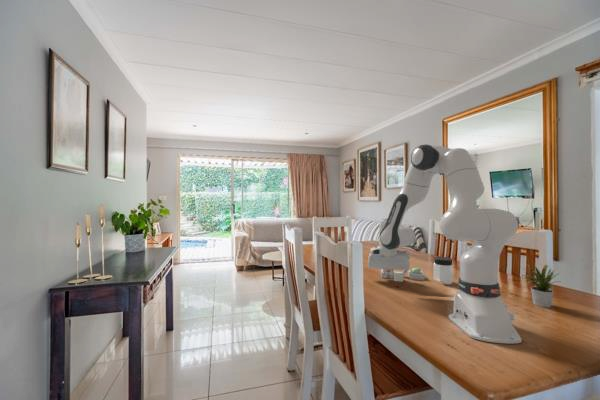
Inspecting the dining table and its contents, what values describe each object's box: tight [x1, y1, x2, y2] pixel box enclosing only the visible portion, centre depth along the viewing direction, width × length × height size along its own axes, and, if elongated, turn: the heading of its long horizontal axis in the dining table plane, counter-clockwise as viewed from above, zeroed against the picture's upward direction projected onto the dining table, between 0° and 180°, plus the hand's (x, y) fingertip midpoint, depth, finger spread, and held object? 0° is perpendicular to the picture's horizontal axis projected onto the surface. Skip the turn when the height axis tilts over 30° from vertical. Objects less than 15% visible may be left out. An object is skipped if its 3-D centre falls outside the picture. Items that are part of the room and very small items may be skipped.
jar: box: [433, 256, 454, 286], centre depth 142 cm, size 9×8×12 cm
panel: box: [380, 269, 426, 281], centre depth 145 cm, size 14×22×4 cm, turn 77°
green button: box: [411, 267, 421, 274], centre depth 146 cm, size 4×4×4 cm
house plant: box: [519, 263, 561, 308], centre depth 113 cm, size 14×14×16 cm
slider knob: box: [393, 271, 404, 283], centre depth 142 cm, size 4×4×4 cm
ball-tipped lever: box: [401, 270, 408, 278], centre depth 147 cm, size 2×2×7 cm
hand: (388, 277), depth 143 cm, fingers closed
